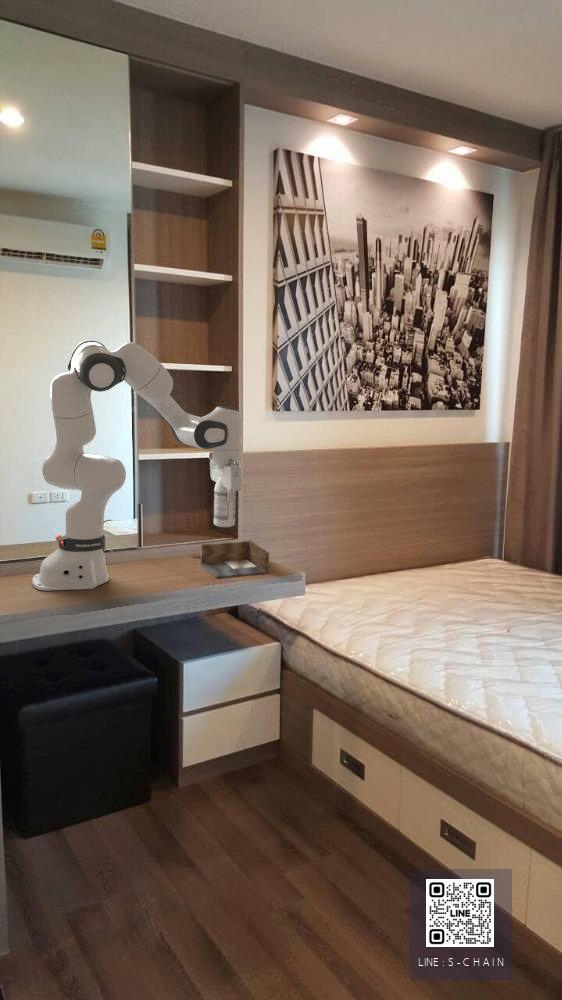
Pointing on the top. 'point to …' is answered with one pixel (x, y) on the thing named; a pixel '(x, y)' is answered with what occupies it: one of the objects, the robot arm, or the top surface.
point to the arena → (234, 559)
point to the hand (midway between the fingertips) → (225, 499)
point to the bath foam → (223, 506)
